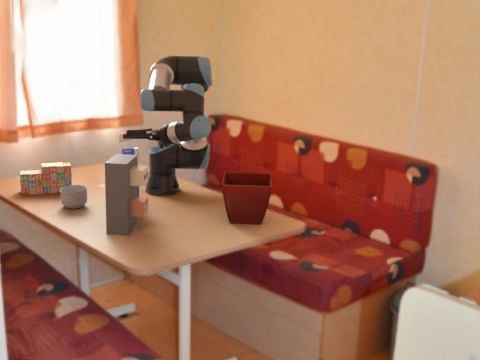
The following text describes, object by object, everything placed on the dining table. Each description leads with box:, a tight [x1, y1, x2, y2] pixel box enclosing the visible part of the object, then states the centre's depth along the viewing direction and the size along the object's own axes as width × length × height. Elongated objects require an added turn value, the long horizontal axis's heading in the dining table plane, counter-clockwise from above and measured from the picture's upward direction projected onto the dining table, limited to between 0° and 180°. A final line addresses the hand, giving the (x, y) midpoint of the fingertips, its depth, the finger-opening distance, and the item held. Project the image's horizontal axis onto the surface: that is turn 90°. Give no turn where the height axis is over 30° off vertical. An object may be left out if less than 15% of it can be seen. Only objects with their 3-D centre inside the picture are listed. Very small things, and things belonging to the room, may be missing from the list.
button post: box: [104, 153, 139, 237], centre depth 238 cm, size 8×14×27 cm, turn 173°
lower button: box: [130, 196, 149, 218], centre depth 239 cm, size 8×6×6 cm
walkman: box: [121, 147, 140, 159], centre depth 318 cm, size 8×3×12 cm, turn 102°
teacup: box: [60, 183, 88, 210], centre depth 265 cm, size 14×11×8 cm
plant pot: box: [221, 171, 273, 225], centre depth 255 cm, size 19×19×17 cm
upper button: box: [130, 165, 149, 187], centre depth 236 cm, size 8×6×6 cm
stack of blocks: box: [19, 161, 73, 196], centre depth 281 cm, size 21×6×12 cm, turn 109°
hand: (133, 142), depth 242 cm, fingers open, 13 cm apart
